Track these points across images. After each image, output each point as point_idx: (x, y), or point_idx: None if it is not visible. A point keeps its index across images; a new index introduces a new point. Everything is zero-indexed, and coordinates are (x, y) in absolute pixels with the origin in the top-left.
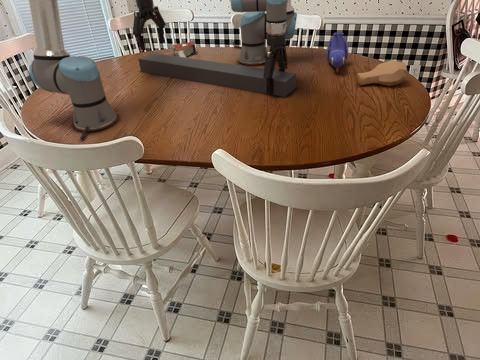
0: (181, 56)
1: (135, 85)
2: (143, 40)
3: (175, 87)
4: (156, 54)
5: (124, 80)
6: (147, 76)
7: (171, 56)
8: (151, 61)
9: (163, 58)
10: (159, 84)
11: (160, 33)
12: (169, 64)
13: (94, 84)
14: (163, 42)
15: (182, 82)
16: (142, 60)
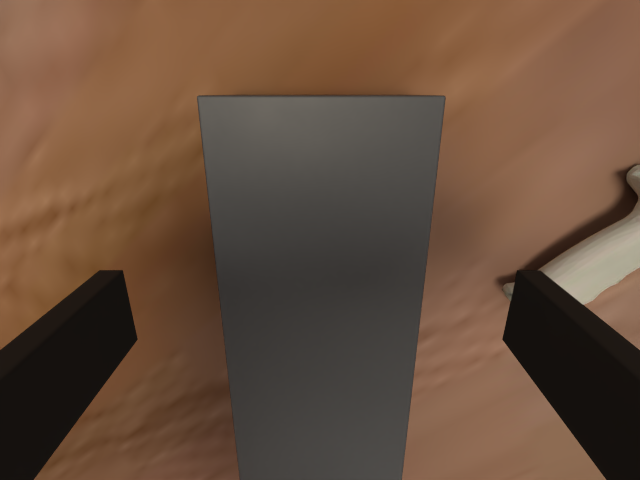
0: (564, 289)
1: (19, 269)
2: (39, 451)
3: (148, 469)
4: (401, 196)
5: (16, 117)
6: (180, 228)
7: (391, 367)
8: (219, 280)
9: (317, 342)
10: (127, 383)
11: (593, 407)
12: (237, 443)
13: None
14: (505, 333)
15: (218, 462)
16: (207, 160)
